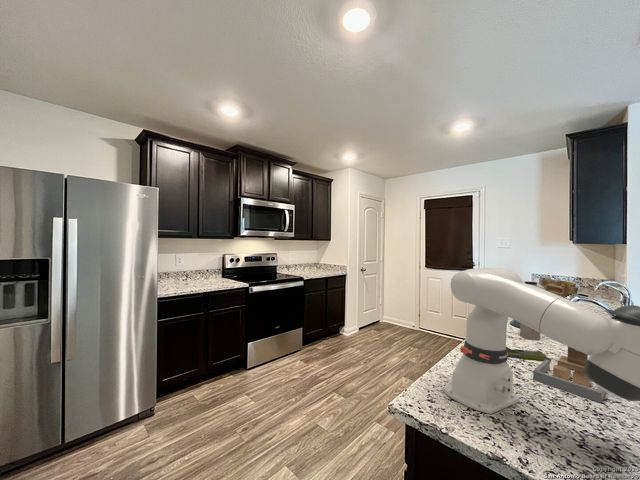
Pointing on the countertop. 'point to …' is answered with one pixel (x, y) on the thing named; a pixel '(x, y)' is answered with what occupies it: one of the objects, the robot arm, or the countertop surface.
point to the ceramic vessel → (558, 287)
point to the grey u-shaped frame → (566, 383)
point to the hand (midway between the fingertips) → (577, 344)
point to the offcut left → (561, 372)
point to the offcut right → (581, 379)
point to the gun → (527, 354)
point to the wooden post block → (574, 360)
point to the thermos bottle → (527, 331)
